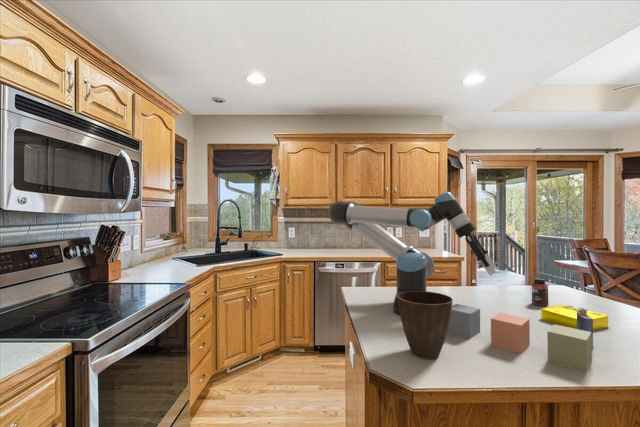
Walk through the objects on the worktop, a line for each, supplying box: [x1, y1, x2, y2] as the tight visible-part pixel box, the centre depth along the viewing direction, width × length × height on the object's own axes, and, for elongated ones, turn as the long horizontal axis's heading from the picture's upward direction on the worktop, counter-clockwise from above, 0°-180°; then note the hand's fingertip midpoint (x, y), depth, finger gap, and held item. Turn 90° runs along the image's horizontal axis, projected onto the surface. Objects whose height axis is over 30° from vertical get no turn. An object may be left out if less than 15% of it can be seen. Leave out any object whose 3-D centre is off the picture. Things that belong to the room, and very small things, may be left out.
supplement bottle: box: [531, 277, 549, 307], centre depth 134 cm, size 6×6×11 cm
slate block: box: [447, 303, 481, 340], centre depth 102 cm, size 8×8×8 cm
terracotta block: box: [490, 312, 531, 354], centre depth 92 cm, size 8×8×8 cm
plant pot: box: [397, 290, 454, 360], centre depth 87 cm, size 15×15×16 cm
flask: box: [577, 307, 594, 350], centre depth 93 cm, size 9×3×11 cm, turn 151°
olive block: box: [546, 323, 593, 373], centre depth 82 cm, size 8×8×8 cm
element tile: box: [540, 304, 609, 332], centre depth 112 cm, size 15×15×5 cm
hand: (493, 271), depth 121 cm, fingers open, 13 cm apart
